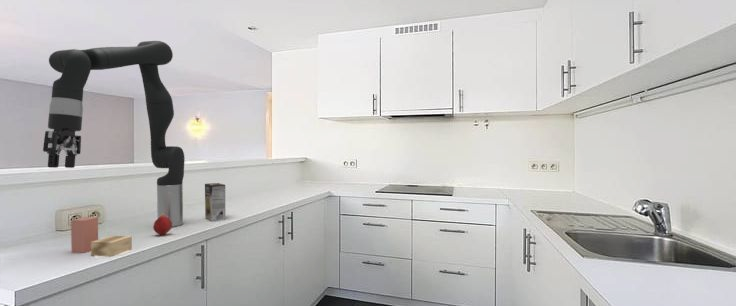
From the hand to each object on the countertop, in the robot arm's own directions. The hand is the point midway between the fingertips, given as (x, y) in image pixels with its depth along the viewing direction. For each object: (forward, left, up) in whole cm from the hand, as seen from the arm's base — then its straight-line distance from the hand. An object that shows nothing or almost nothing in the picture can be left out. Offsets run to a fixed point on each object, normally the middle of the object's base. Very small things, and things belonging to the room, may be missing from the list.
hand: (61, 167), depth 99 cm
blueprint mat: (+4, +8, -27) cm, 28 cm away
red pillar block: (0, +5, -26) cm, 27 cm away
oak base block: (+8, +11, -26) cm, 30 cm away
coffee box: (-22, +51, -27) cm, 62 cm away
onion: (-5, +27, -27) cm, 38 cm away
